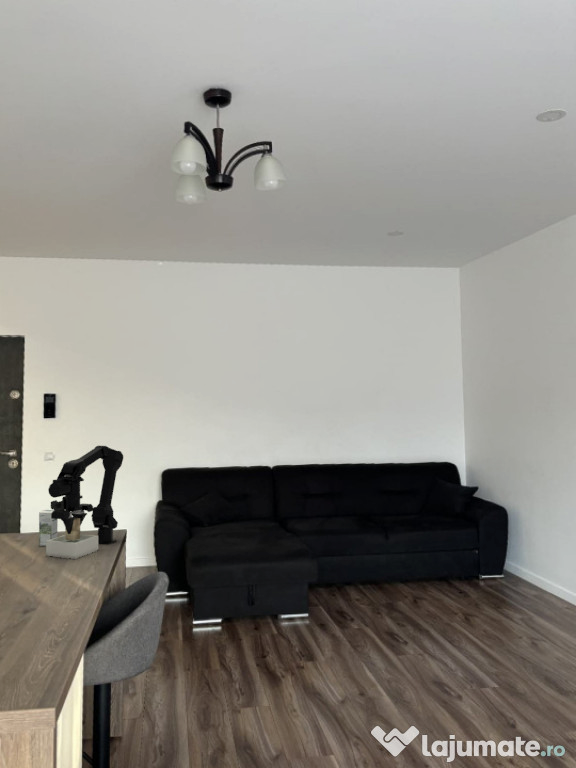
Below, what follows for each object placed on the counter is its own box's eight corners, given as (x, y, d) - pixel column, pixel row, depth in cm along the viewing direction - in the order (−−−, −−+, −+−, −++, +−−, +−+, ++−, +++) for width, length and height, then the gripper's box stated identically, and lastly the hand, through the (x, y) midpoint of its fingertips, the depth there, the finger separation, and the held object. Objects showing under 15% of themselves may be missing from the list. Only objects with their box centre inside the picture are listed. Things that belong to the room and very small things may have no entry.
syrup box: (58, 543, 269) (58, 509, 269) (51, 546, 263) (51, 512, 263) (45, 543, 269) (45, 509, 269) (38, 546, 263) (38, 511, 263)
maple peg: (72, 537, 255) (72, 517, 255) (80, 538, 253) (80, 518, 253) (65, 539, 251) (65, 519, 251) (73, 540, 249) (73, 520, 250)
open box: (70, 547, 261) (70, 533, 261) (98, 550, 256) (98, 535, 256) (46, 556, 248) (46, 540, 248) (75, 559, 243) (75, 543, 243)
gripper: (71, 489, 264) (71, 526, 264) (39, 496, 246) (40, 536, 246) (93, 490, 260) (94, 528, 260) (63, 497, 242) (63, 538, 242)
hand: (72, 532), depth 252 cm, fingers closed on maple peg, 4 cm apart
